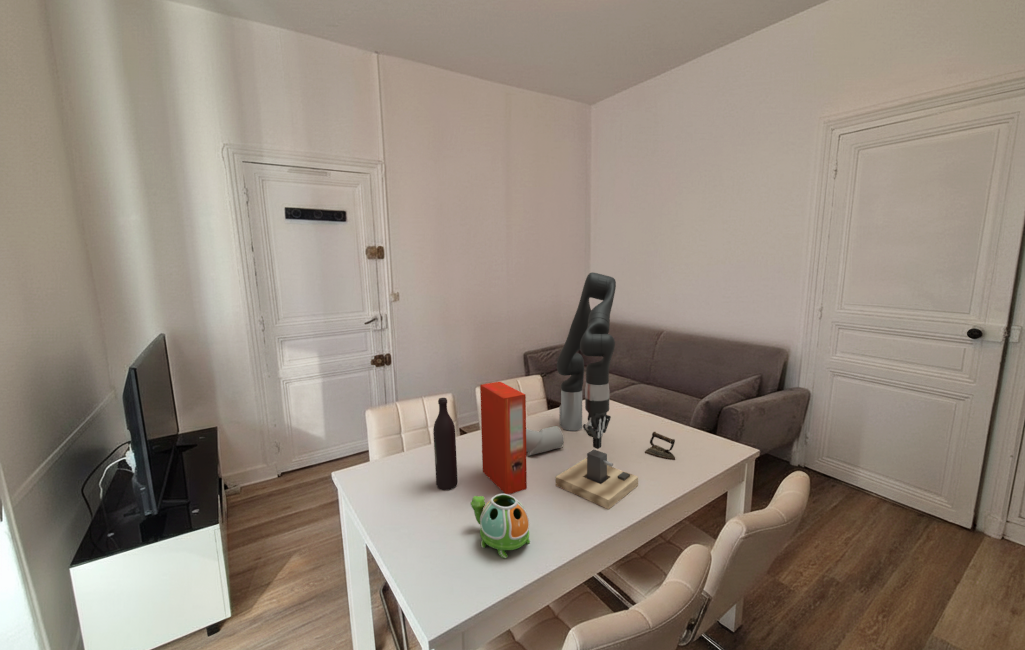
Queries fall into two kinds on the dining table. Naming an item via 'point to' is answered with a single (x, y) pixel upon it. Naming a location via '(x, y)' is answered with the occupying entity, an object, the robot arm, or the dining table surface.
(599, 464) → the plug
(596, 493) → the socket board
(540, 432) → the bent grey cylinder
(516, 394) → the file binder
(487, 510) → the turtle holder
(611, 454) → the dining table surface
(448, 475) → the wine bottle
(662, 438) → the clothes iron
